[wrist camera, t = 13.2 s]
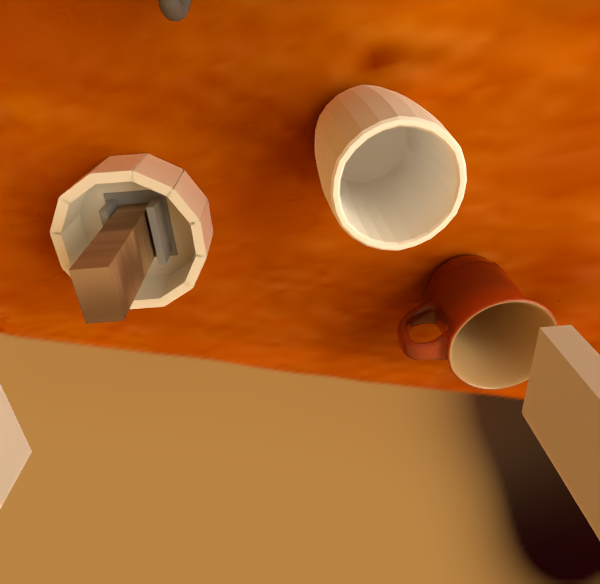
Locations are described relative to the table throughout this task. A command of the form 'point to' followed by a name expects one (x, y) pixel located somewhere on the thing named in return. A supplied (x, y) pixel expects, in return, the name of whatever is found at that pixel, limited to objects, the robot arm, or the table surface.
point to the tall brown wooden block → (114, 265)
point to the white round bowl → (161, 213)
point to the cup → (387, 168)
